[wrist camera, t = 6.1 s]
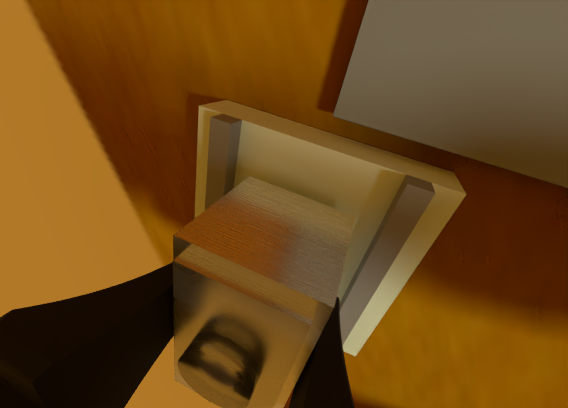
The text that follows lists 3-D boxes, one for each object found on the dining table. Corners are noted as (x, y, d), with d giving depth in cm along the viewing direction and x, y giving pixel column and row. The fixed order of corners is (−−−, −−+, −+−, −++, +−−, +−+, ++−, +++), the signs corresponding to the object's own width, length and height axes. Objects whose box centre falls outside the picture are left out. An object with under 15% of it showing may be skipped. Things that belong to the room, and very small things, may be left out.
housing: (306, 326, 15) (261, 464, 10) (231, 290, 16) (153, 399, 11) (355, 215, 11) (323, 353, 6) (249, 176, 12) (137, 262, 7)
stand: (453, 172, 12) (473, 205, 9) (359, 323, 18) (353, 372, 15) (226, 99, 14) (184, 108, 11) (212, 256, 21) (182, 288, 18)
